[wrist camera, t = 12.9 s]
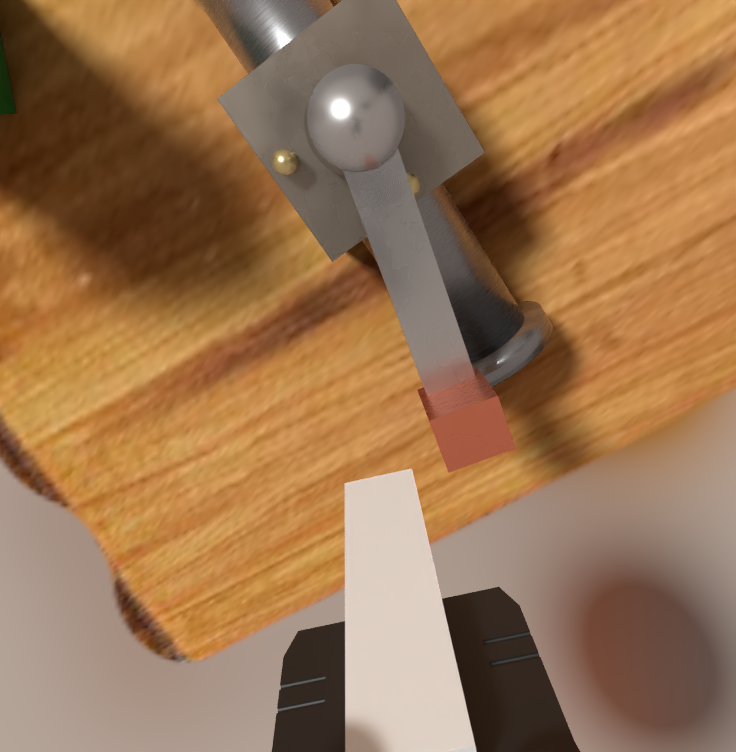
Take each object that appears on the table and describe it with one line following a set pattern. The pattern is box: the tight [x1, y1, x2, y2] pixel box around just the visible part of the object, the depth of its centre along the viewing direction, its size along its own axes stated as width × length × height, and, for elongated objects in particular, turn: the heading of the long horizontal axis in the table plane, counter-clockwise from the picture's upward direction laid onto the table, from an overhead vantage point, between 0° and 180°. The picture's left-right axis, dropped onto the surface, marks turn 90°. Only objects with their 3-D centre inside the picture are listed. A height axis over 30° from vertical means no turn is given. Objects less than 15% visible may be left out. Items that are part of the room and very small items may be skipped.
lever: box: [307, 64, 516, 472], centre depth 23 cm, size 15×4×4 cm, turn 21°
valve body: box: [198, 0, 553, 387], centre depth 28 cm, size 28×8×10 cm, turn 35°
